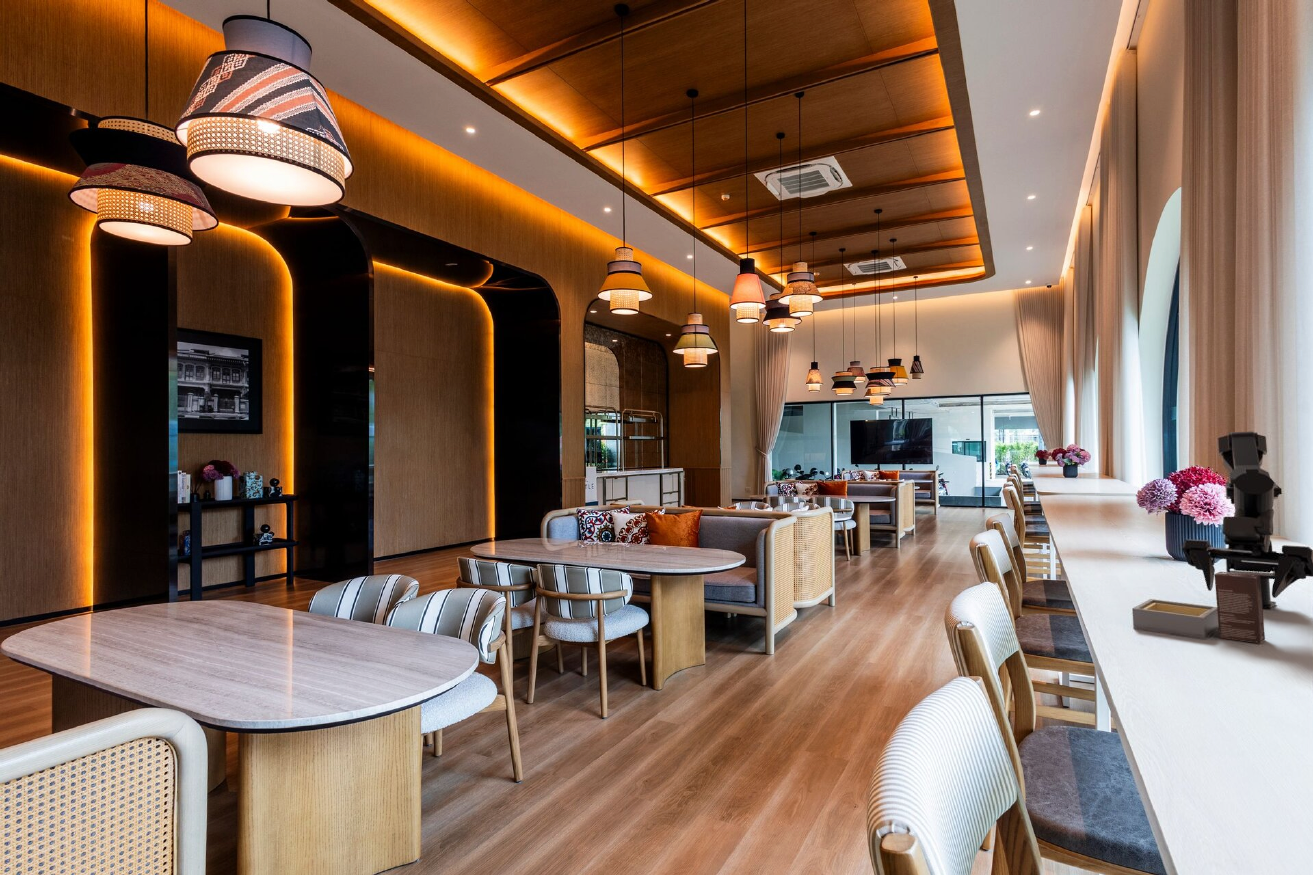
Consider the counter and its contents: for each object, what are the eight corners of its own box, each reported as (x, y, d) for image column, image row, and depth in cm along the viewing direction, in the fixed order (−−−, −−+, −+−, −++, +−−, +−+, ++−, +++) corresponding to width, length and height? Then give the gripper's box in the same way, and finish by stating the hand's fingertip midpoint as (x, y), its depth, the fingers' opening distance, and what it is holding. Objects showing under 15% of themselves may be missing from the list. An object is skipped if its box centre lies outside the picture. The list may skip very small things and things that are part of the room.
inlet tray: (1151, 618, 139) (1150, 598, 139) (1220, 627, 130) (1219, 607, 130) (1133, 628, 132) (1132, 608, 132) (1204, 639, 123) (1203, 617, 123)
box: (1265, 639, 122) (1261, 573, 122) (1260, 644, 119) (1256, 577, 119) (1223, 633, 126) (1219, 570, 126) (1217, 638, 123) (1213, 573, 124)
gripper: (1182, 499, 134) (1167, 560, 127) (1309, 502, 119) (1301, 571, 112) (1196, 534, 139) (1182, 595, 132) (1320, 541, 124) (1313, 610, 117)
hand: (1240, 592), depth 123 cm, fingers open, 9 cm apart
